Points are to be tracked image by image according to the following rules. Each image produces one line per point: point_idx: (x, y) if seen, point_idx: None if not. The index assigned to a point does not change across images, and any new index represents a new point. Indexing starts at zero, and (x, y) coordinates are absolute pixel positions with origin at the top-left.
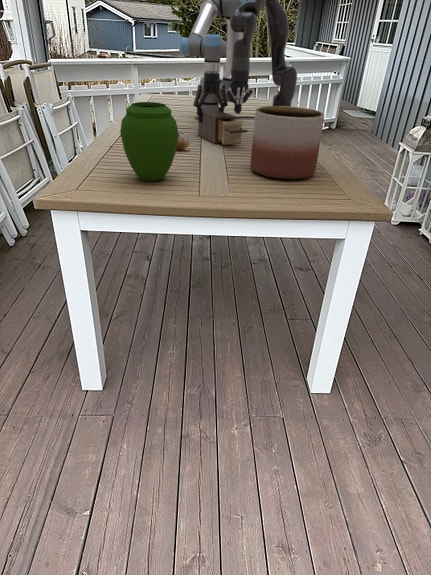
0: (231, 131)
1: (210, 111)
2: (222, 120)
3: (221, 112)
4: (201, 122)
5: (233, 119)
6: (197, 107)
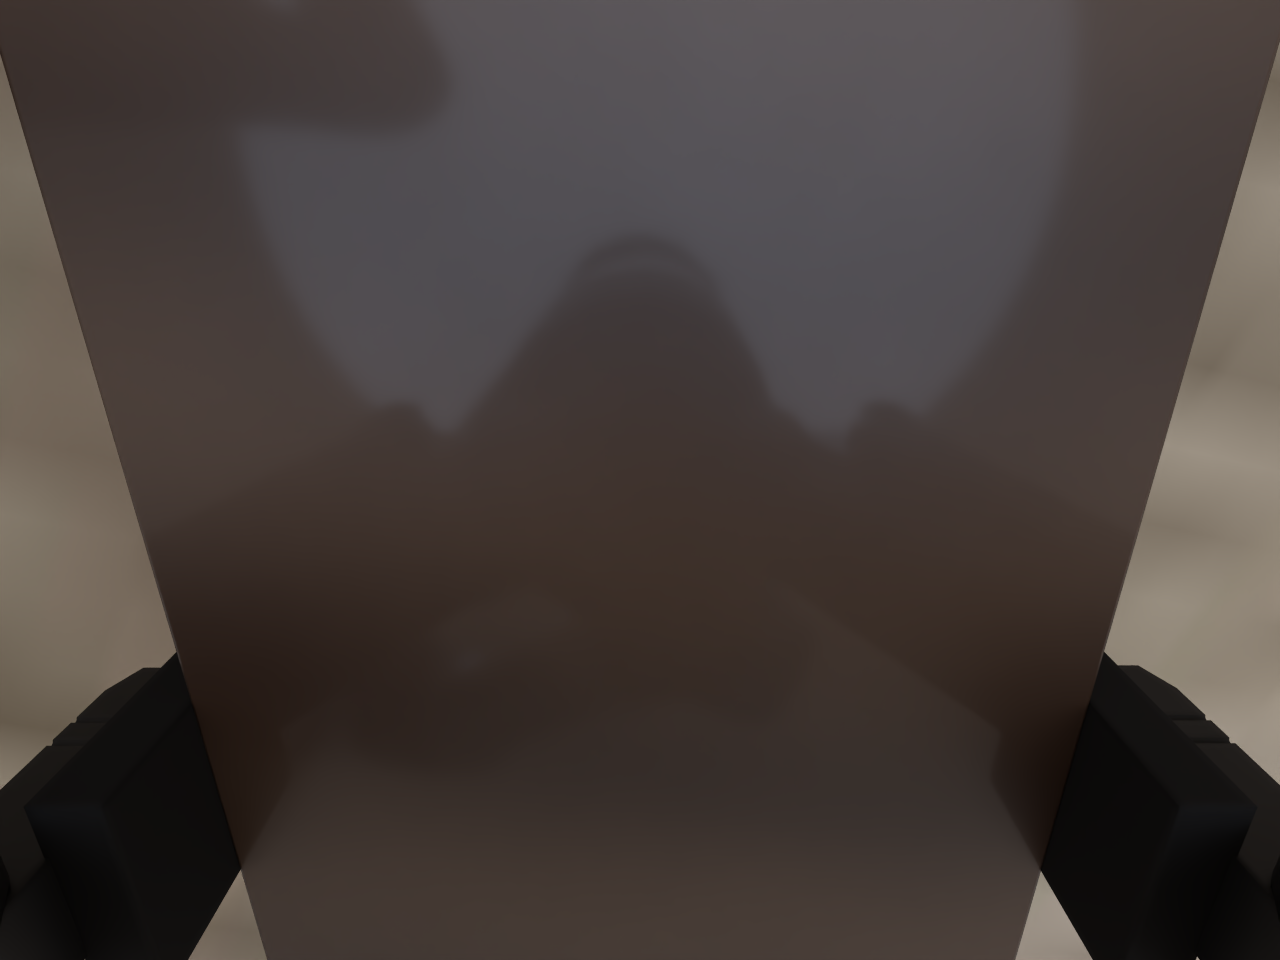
0: None
1: (678, 734)
2: None
3: (260, 408)
4: None
5: None
6: None
